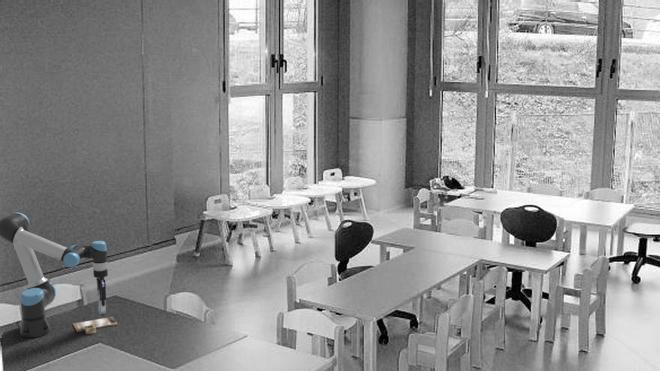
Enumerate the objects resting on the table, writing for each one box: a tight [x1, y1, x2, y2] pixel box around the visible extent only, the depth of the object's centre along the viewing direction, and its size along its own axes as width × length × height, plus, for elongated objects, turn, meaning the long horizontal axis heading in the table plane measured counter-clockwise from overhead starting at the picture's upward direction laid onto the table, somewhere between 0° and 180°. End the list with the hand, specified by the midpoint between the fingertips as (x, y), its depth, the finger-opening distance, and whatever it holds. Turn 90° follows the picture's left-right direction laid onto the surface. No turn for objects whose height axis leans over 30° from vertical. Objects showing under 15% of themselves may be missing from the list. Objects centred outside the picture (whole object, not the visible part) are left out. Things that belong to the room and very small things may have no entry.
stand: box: [84, 325, 97, 335], centre depth 434 cm, size 5×5×3 cm
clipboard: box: [72, 316, 119, 333], centre depth 446 cm, size 22×14×1 cm, turn 116°
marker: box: [97, 290, 107, 317], centre depth 446 cm, size 4×4×14 cm
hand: (102, 310), depth 447 cm, fingers closed on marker, 3 cm apart
